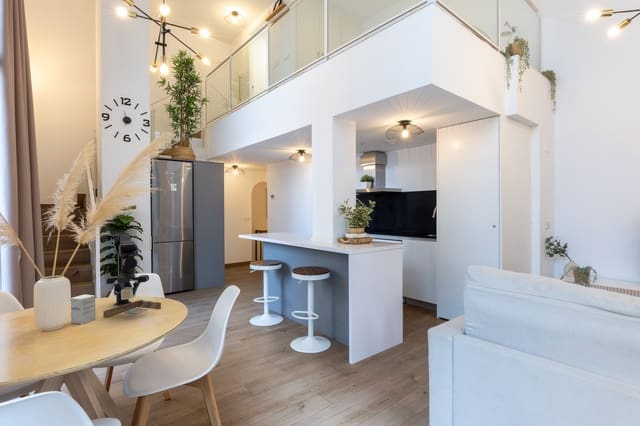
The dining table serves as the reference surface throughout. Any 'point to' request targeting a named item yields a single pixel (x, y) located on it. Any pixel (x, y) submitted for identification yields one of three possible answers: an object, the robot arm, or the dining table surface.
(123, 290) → the sage cube
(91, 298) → the supplement box
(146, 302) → the block
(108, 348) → the dining table surface
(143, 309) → the tile
